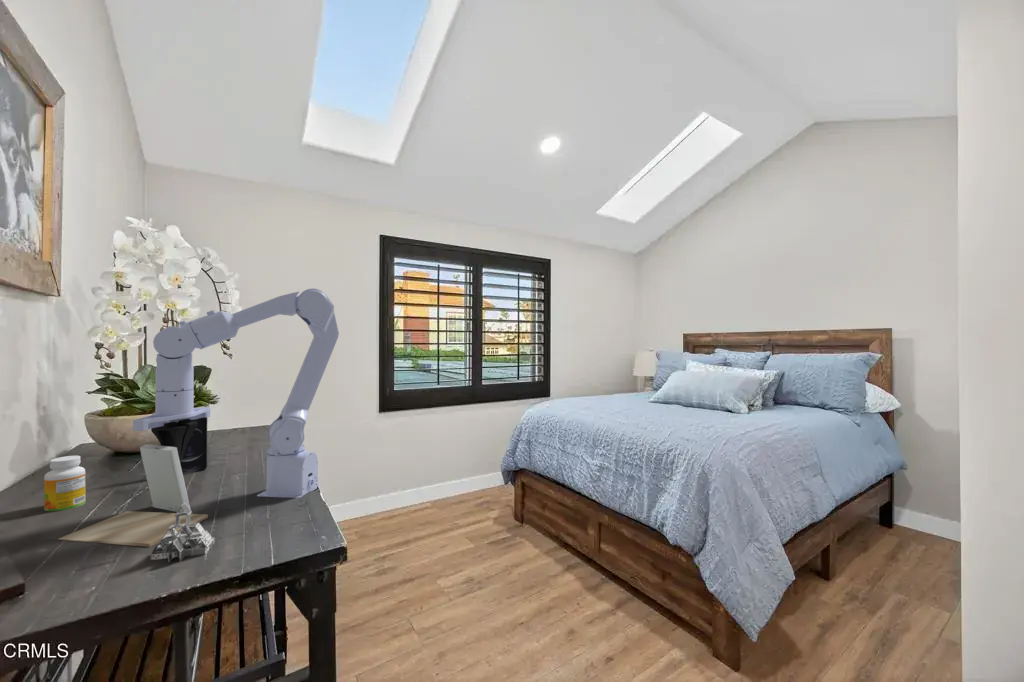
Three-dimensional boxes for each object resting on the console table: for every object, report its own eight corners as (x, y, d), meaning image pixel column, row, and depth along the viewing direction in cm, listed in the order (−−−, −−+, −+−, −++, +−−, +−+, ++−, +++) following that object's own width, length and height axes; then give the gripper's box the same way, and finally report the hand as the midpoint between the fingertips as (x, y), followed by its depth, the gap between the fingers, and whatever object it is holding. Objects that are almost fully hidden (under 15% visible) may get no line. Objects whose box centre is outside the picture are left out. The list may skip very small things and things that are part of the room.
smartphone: (170, 478, 98) (170, 414, 98) (169, 478, 98) (169, 413, 98) (207, 470, 104) (207, 409, 104) (205, 469, 105) (206, 409, 105)
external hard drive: (182, 513, 78) (169, 450, 76) (151, 508, 81) (137, 447, 78) (191, 508, 80) (178, 447, 77) (161, 503, 82) (147, 443, 80)
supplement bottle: (44, 509, 80) (44, 458, 80) (84, 501, 84) (84, 452, 84) (43, 517, 76) (43, 464, 76) (86, 509, 80) (86, 458, 80)
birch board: (207, 517, 76) (207, 514, 76) (150, 547, 65) (150, 543, 65) (127, 514, 78) (127, 511, 78) (57, 542, 67) (57, 538, 67)
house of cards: (113, 584, 56) (113, 526, 56) (148, 552, 64) (148, 502, 64) (192, 573, 58) (193, 518, 59) (216, 544, 67) (217, 496, 67)
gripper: (188, 386, 88) (188, 450, 88) (117, 394, 74) (116, 472, 74) (219, 386, 88) (219, 451, 88) (153, 395, 73) (153, 473, 73)
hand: (174, 461), depth 81 cm, fingers closed
